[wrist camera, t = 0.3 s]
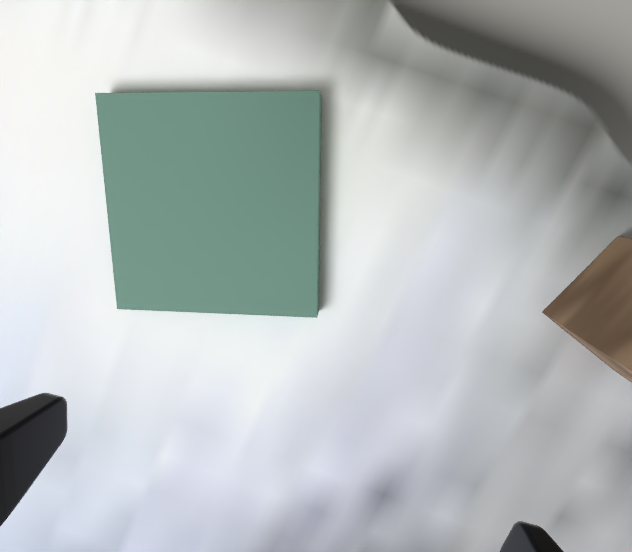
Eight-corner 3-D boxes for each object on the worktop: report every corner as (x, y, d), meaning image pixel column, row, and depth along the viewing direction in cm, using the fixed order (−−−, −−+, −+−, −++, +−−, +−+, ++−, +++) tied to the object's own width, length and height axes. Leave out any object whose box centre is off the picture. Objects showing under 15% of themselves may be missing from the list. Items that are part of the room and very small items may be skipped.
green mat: (318, 311, 22) (316, 317, 21) (127, 303, 23) (117, 308, 22) (321, 95, 19) (319, 90, 18) (107, 97, 20) (95, 93, 19)
